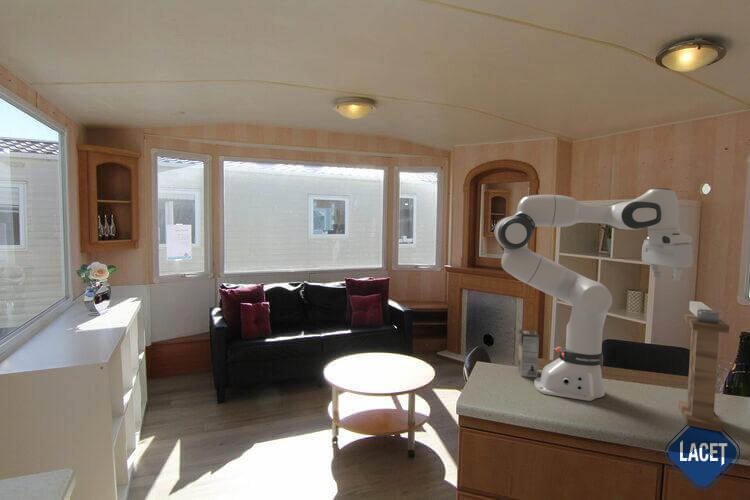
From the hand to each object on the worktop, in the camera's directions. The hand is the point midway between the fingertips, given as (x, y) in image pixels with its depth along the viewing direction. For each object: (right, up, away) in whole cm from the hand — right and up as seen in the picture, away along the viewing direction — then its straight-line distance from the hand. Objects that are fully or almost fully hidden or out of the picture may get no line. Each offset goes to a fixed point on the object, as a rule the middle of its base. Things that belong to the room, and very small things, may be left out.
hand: (666, 279), depth 142 cm
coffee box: (-37, -38, +24) cm, 59 cm away
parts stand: (0, -41, -14) cm, 43 cm away
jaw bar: (+3, -11, -11) cm, 16 cm away
